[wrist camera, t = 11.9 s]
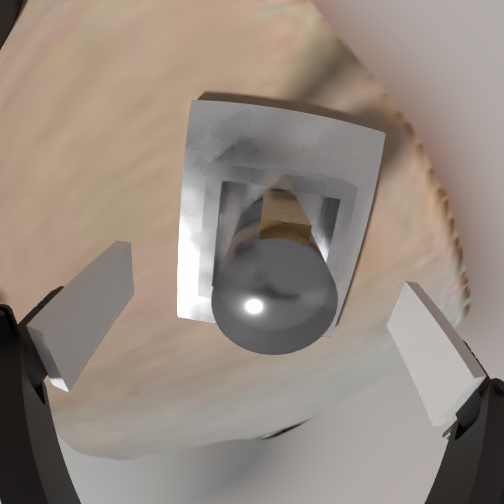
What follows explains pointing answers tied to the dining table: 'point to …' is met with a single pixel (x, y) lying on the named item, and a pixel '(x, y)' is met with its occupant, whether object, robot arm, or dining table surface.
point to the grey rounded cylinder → (274, 280)
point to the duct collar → (271, 188)
